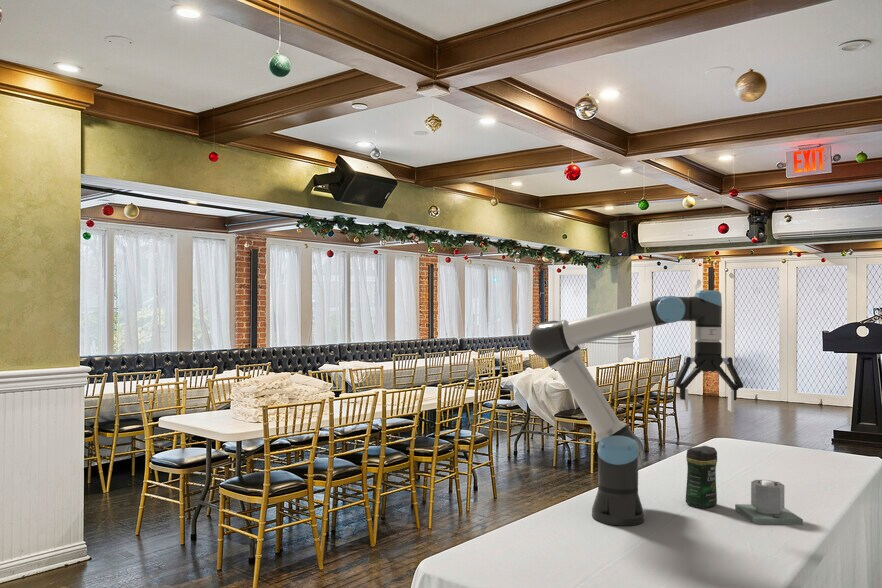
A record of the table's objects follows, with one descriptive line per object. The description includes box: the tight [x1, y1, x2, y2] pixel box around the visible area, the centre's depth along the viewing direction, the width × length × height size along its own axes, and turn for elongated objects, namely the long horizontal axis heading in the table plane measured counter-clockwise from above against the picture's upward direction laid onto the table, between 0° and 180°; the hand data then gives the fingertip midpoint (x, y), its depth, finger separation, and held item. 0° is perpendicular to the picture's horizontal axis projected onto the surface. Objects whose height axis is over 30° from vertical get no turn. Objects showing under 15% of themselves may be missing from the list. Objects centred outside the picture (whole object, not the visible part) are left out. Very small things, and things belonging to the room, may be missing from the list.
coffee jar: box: [685, 445, 718, 509], centre depth 217 cm, size 10×8×19 cm
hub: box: [750, 479, 785, 511], centre depth 206 cm, size 8×8×7 cm
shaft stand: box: [734, 479, 804, 525], centre depth 206 cm, size 14×14×10 cm
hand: (708, 410), depth 207 cm, fingers open, 13 cm apart
